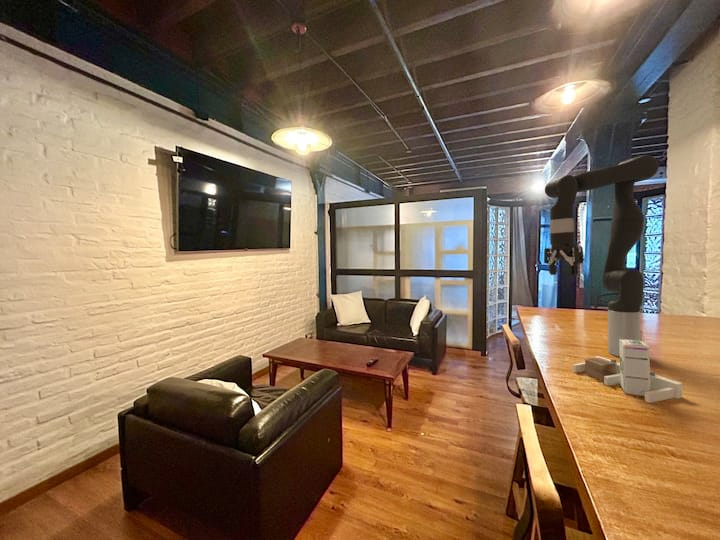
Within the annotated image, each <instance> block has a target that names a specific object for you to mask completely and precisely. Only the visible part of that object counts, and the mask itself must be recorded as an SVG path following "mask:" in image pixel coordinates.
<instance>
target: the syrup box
mask: <svg viewBox="0 0 720 540" xmlns="http://www.w3.org/2000/svg"><path fill="white" fill-rule="evenodd" d="M619 347H620V357H619V363H620V382H621V383H620V387H621V389H622V391H623V393H625V394H629V395H634V396H640V397H641V396H642V397H645V392H649V391H651V389H650V371H651V366H650V365H651V364H650V362H651V361H650V358H651V357H650V346H649V345H648V344H647V343H646V342H645V341H643V340H642V341H638V340H621V339H620V340H619Z"/></svg>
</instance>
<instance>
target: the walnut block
mask: <svg viewBox="0 0 720 540" xmlns="http://www.w3.org/2000/svg"><path fill="white" fill-rule="evenodd" d="M584 363H585V371H584V372H585V373H584V374H585V375H587V376H589V377H592V378H594V379H595V380H599V381H601V382H604V376H609V375H615V374H616V363H614V362H611V361H608V360H605V359H602V358H599V357H598V358H594V357H593V358H587V359H586V358H585V361H584Z"/></svg>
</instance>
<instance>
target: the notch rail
mask: <svg viewBox="0 0 720 540" xmlns="http://www.w3.org/2000/svg"><path fill="white" fill-rule="evenodd" d="M598 357H599V358H602V359H605V360H608V361H611V362H614V363H616V374H615V375H609V376H604V381H603V385H605V386H613V385H614V386H615V385H618V384H621V382H620V362H618V361H617V359H615V358H611V359H608V358H606V357H603V356H600V355H599V356H598V355H597V356H594V357H593V358H598ZM572 372H573V373H575V374H576V373H582V372H585V362H579V363H573V364H572ZM682 398H683V383H682V382H679V381H676V380H674V379H670V378H667V377H664V376H661V375H657V374H656V372H655V371H651V370H650V391H649V392H645V396H644V402H646V403H648V404H649V403H650V404H651V403H655V402H660V401H666V400H669V399H682Z"/></svg>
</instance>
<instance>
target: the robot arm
mask: <svg viewBox="0 0 720 540" xmlns="http://www.w3.org/2000/svg"><path fill="white" fill-rule="evenodd" d="M658 171H659V162H658V160H657V158H655V157H654V156H652V155H650V154H644V155H639V156H636V157H632V158H629V159H626V160H623V161H621V162H619V163H618V164H616V165H612V166H607V167H601V168H597V169H593V170H586V171H583V172H579V173H576V174H574V175H571V174H566V175H562V176H560V177H556V178H554V179H552V180H549V181H548V182H547V183H546V184H545V187H544V193H545V195H547V197H549V198H550V199H551V198H552V199H557V200H556V202H555V203H554V204H552V205H551V206H550V209H549V213H550V214H549V215H550V218H549V219H550V220H549V221H550V222H549V244H550V246H551V247H546V248H544V251H543V252H544V253H543V254H544V256H543V259H544V260H543V261H544V264H547V265H548V266H549V271H548V272H549V274H550V275H551V276H555V275H557V265H556V264H557V263H558V262H559V261H560V260H565V261H567V262H568V263H569V265H570V266H569V269H570V270H569V271H570V274H569V275H570V276H571V277H576V276H578V274H579V265H581V264H584V263H585V262H584V250H583V248H584V247H582V246H574V244H575V243H576V240H575V239H576V238H575V237H576V236H575V235H576V234H575V222H574V221H575V220H574V205H575V202H576V197H577V194H578V193H584V192H588V191H592V190H597V189H600V188H602V187H603V188H604V187H606V186H610V185H613V207H612V214H611V215H612V217H611V223H610V231H609V243H608V249H607V255H606V259H605V262H604V268H603V272H602V276H601V277H602V278H601V281H602V286H603V288H604V289H605V290H606V291H608V292H613V293H619V298H618V299H616V300H612V301H609V302H608V303H607V322H608V323H607V328H608V331H607V332H608V333H607V334H608V335H607V336H608V353H609V354H610V355H613V356H616V357H619V358H620V347H619V340H620V339H621V340H638V341H643V331H642V329H641V306H642V304H643V302H644V301H643V298H644V285H645V284H644V281H645V280H644V277H643V274H642V272H641V270H638V269H635V268H624V267H625V261H626V258H627V256H628V254H629V253H630V251H631V250H632V248H633V247H634V246H635V245H636V244H637V242H638V241H639V240H640V238H641V237H642V235H643V229H644V222H645V216H644V213H643V211H642V210H641V207H640V206H639V205H638V203H637V202H636V200H635V198H634V188H635V183H638V182H639V183H640V182H643V181H647V180H649V179H651V178H653V177H654V176H655V175H656V174H657V173H658Z"/></svg>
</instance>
